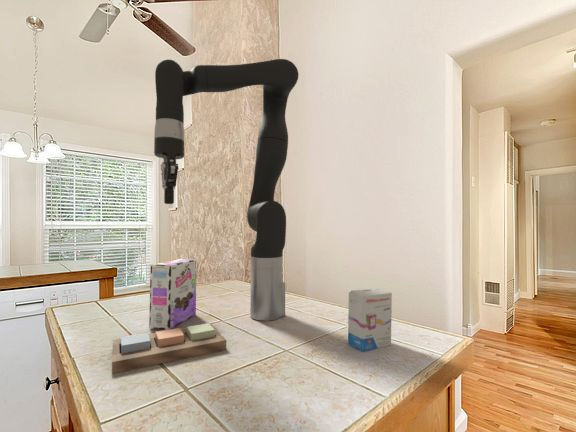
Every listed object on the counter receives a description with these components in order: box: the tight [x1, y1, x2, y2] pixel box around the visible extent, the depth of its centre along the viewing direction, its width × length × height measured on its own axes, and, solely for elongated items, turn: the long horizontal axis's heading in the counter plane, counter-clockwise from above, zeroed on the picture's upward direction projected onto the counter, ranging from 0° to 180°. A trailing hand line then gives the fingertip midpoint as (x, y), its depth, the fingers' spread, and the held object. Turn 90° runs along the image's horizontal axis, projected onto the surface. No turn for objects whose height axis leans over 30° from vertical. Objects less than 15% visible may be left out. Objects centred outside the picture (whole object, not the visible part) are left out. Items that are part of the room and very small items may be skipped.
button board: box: [111, 323, 227, 374], centre depth 65 cm, size 21×12×2 cm, turn 119°
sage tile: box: [186, 322, 216, 341], centre depth 68 cm, size 5×5×3 cm
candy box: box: [148, 258, 197, 331], centre depth 83 cm, size 14×6×16 cm, turn 168°
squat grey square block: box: [120, 332, 150, 354], centre depth 61 cm, size 5×5×3 cm
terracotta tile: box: [154, 327, 184, 347], centre depth 65 cm, size 5×5×3 cm
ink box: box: [347, 287, 393, 353], centre depth 67 cm, size 9×5×12 cm, turn 117°
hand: (168, 203), depth 81 cm, fingers closed
